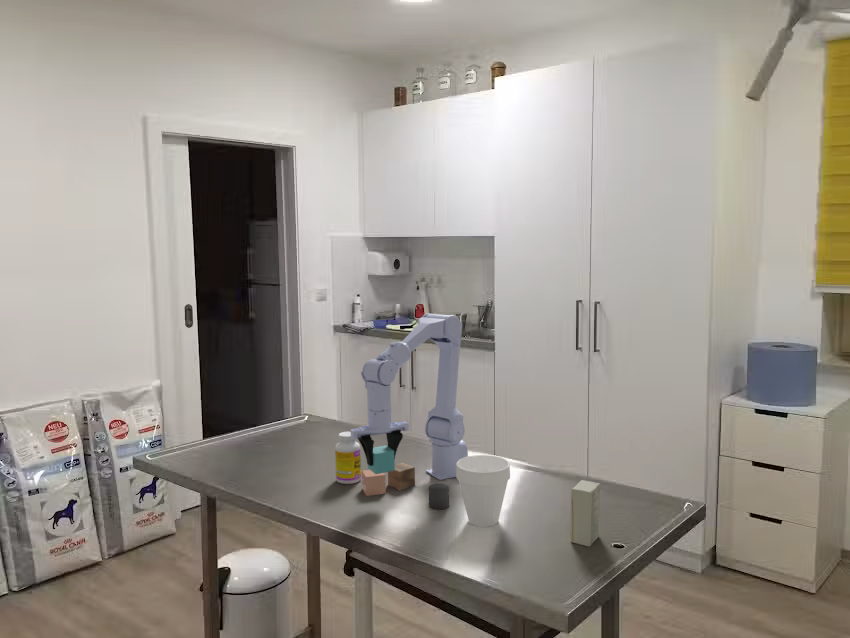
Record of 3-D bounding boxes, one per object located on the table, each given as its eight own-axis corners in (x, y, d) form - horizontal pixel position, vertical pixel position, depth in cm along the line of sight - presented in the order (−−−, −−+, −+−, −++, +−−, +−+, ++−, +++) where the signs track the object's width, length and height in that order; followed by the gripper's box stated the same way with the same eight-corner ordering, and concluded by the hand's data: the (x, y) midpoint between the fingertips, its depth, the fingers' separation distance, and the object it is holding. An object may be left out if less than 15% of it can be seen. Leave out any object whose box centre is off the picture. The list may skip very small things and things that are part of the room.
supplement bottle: (357, 485, 190) (355, 438, 188) (332, 484, 191) (331, 437, 189) (364, 476, 196) (362, 430, 195) (340, 475, 198) (339, 429, 196)
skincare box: (580, 532, 159) (581, 478, 157) (600, 536, 157) (601, 482, 155) (569, 542, 154) (570, 488, 152) (589, 547, 151) (590, 491, 150)
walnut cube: (402, 480, 193) (402, 462, 192) (415, 485, 189) (414, 467, 189) (388, 485, 190) (387, 467, 189) (400, 490, 186) (399, 471, 186)
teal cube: (386, 464, 181) (385, 445, 180) (394, 470, 176) (393, 450, 176) (368, 468, 179) (367, 448, 178) (375, 474, 174) (374, 454, 173)
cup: (495, 536, 158) (495, 476, 156) (446, 524, 164) (445, 466, 162) (519, 516, 168) (519, 459, 166) (472, 506, 174) (472, 451, 173)
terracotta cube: (381, 487, 189) (380, 468, 188) (385, 493, 184) (385, 474, 183) (362, 489, 187) (362, 470, 187) (366, 496, 183) (365, 477, 182)
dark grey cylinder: (443, 501, 178) (443, 481, 178) (453, 508, 174) (452, 488, 173) (425, 504, 176) (424, 485, 175) (434, 512, 172) (434, 491, 171)
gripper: (399, 401, 182) (401, 453, 184) (345, 408, 176) (347, 462, 178) (411, 407, 176) (412, 461, 178) (355, 415, 170) (357, 471, 171)
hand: (380, 462), depth 177 cm, fingers closed on teal cube, 5 cm apart
